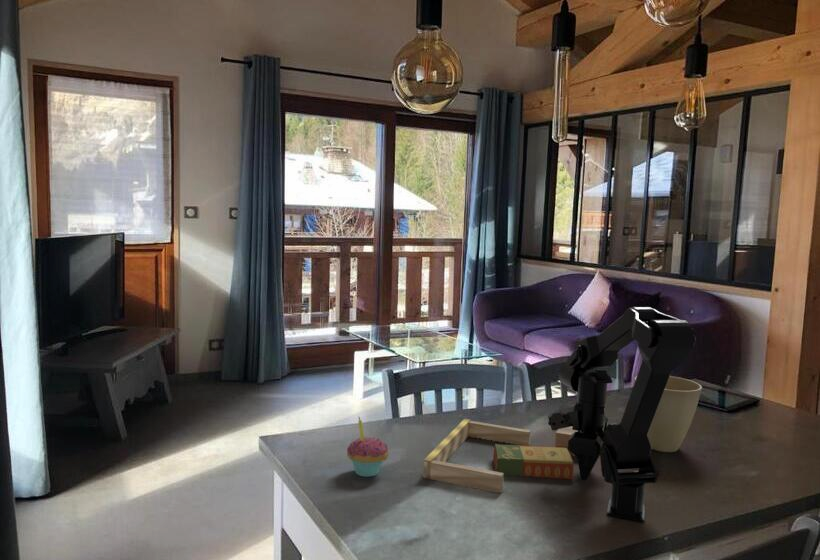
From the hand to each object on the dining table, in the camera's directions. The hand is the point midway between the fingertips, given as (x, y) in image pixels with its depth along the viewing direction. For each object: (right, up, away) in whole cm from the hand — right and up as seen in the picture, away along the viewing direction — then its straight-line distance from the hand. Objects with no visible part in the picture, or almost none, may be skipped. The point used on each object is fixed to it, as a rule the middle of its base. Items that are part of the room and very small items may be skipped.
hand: (586, 471), depth 138 cm
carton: (-11, -1, +3) cm, 11 cm away
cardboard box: (0, 0, +15) cm, 15 cm away
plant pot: (+23, 0, +20) cm, 31 cm away
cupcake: (-46, 0, -1) cm, 46 cm away
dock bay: (-21, 0, +7) cm, 22 cm away
